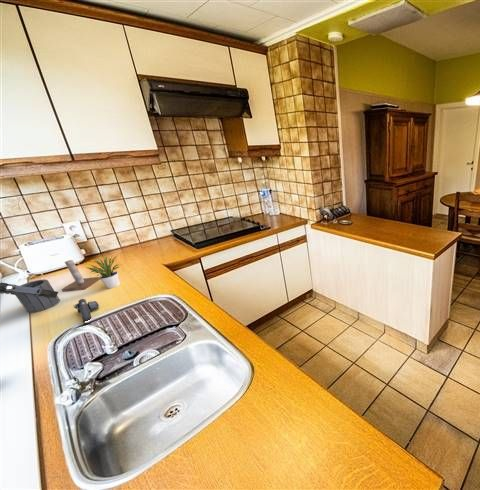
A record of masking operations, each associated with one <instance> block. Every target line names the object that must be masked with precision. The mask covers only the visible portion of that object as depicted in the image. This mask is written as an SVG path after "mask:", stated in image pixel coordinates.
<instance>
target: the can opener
mask: <svg viewBox="0 0 480 490" xmlns="http://www.w3.org/2000/svg"><path fill="white" fill-rule="evenodd" d="M72 306H73V309H75V310H76V309H77V313H78V314H80V315H81V320H82V322H83V323H84V322H85V321H88V320H90V319H91V318H92V315H91V312H93V311H96V310H98V309H99V303H98V302H97V301H96V300H92V301H91V300H90V301H88V302H87V300H86V299H85V298H80V299H79V300H78V302H77V303H76V304H74V305H72Z"/></svg>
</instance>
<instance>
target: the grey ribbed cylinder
mask: <svg viewBox="0 0 480 490" xmlns="http://www.w3.org/2000/svg"><path fill="white" fill-rule="evenodd" d="M19 286H25V287H33V288H42V289H44V290H50V291H55V289H54V287H53V286H52V284H51V282H50V281H49V280H48V279H45V278H44V279H36V280H33V281H28V282H26V283H22V284H20V285H19ZM14 294H15V295H14V296H15V297H16V298H17V300H18V301H19V303H20V304H21V306H22V307H23V308H24V310H25V311H26V312H27V313H29V314H33V313H38V312H42V311H45V310H48V309H51V308H53V307H55V306H56V305H58V304H59V303H60V302H61V299H60V297H59V295H57V296H56V298H53V297H46V296H38V297H37V296H36V294H26V293H16V292H14Z"/></svg>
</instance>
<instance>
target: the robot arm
mask: <svg viewBox="0 0 480 490" xmlns="http://www.w3.org/2000/svg"><path fill="white" fill-rule="evenodd" d="M14 292H16V293H26V294H36V296H37V297H38V296H46V297H53V298H56V296H58V294H59V291H56V290H54V291H50V290H44V289H42V288H33V287H25V286H20V285H18V284H13V283H12V284H11V283H7V282H0V294H1V295H4V294H5V295H12V296H16V295H15V294H14Z"/></svg>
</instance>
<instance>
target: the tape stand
mask: <svg viewBox="0 0 480 490" xmlns="http://www.w3.org/2000/svg"><path fill="white" fill-rule="evenodd" d="M64 264H65V265H66V267H67V269H68V271H69V273H70V274H71V276H72V278H73V279H74V281H72V282H71V283H69V284H67V285H66V286H64V287H63V288H61V291H62V292H63V293H65V292H73V291H74V292H75V291H82V290H86V289H88V288H89V287H91V286H93V285H95V284H96V283H97V282H98V281H101V280H100V279H99V277H100V276H97V277H96V276H95V277H85V278H84V277H83V276H82V274H81V272H80V271H79V269H78V267H77V265H76V263H75V261H74V260H73V259H69V260H66V261H64Z"/></svg>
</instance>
